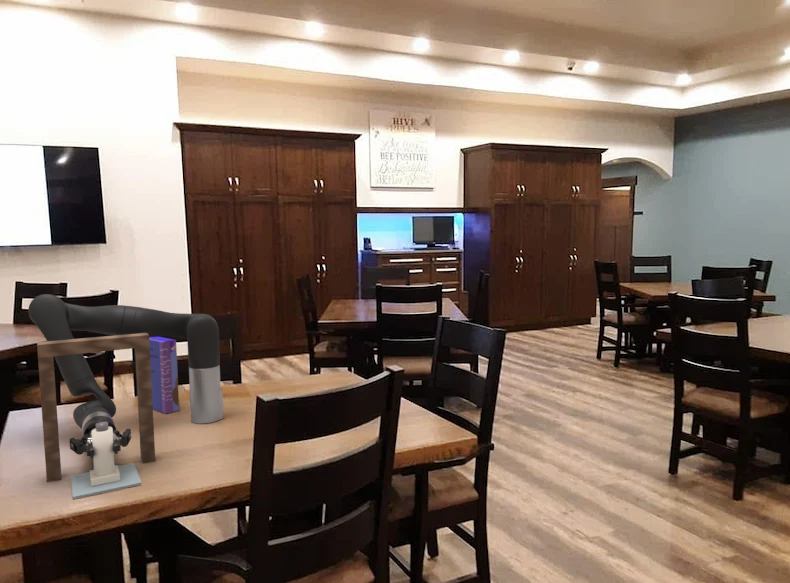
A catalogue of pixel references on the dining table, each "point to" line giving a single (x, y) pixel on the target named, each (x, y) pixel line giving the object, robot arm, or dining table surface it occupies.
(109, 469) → the white tall cylinder
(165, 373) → the cereal box
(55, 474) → the archway
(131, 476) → the mat
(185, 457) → the dining table surface
